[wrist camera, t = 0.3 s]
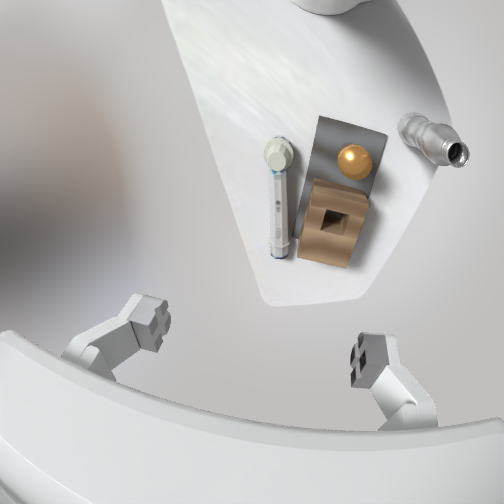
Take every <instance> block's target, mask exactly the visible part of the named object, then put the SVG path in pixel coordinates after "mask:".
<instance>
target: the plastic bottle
mask: <svg viewBox="0 0 504 504" xmlns="http://www.w3.org/2000/svg"><path fill="white" fill-rule="evenodd" d="M398 132H399V134H400V136H401V138H402V140H403V141H404V142H405V143H406V144H408V145H410V146H412V147H416V148H419V149H420V150H421V151H422V152H423V153H424V155H425V156H426V157H427V158H428V159H429V160H430V161H431V162H432V163H434V164H436V165H440V166H448V165H452V166H454V167H457V168H460V167H463V166H465V165H466V164H467V162H468V160H469V150H468V147H467V146H466V145H465V144H464V143H463V142H461V140H460V138H459V136H458V134H457V133H456V131H455V130H454V129H453V128H452V127H450V126H448V125H446V124H442V123H433V122H430V121H429V120H428V119H427V118H425V117H424V116H423V115H421V114H418V113H409V114H406V115H404V116H403V117H402V118H401V119H400V121H399V123H398Z"/></svg>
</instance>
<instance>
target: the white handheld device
mask: <svg viewBox="0 0 504 504" xmlns="http://www.w3.org/2000/svg"><path fill="white" fill-rule="evenodd" d="M264 159H265V161H266V163H267V164H268V166H269V167H270V239H269V244H270V245H271V256H273V257H274V258H275V259H284V258H286V257H287V256H288V250H289V245H290V238H289V233H288V201H287V176H286V169H287V168H289V167H290V165H291V163H292V161H293V149H292V147H291V145H290V143H289V141H288V140H287V139H285V138H284V137H275V138H274V139H272V140H271V141H269V142H268V143H267V145H266V147H265V149H264Z"/></svg>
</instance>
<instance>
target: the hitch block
mask: <svg viewBox="0 0 504 504" xmlns="http://www.w3.org/2000/svg"><path fill="white" fill-rule="evenodd" d="M386 137H387V135H386V134H383V133H379V132H376V131H373V130H370V129H367V128H363V127H360V126H357V125H353V124H349V123H346V122H342V121H338V120H334V119H330V118H326V117H322V116H319V119H318V124H317V129H316V134H315V139H314V143H313V148H312V152H311V157H310V161H309V166H308V170H307V175H306V179H305V184H304V188H303V192H302V196H301V201H300V205H299V209H298V213H297V217H296V222H295V226H294V230H293V234H292V237H293V238H297V239H299V240H298V251H297V258H302V259H306V260H311V261H315V262H320V263H324V264H329V265H333V266H337V267H342V268H346V267H347V264H348V262H349V259H350V257H351V254H352V251H353V249H354V246H355V244H356V241H357V238H358V236H359V233H360V230H361V227H362V225H363V222H364V219H365V216H366V213H367V211H368V208H369V203H368V197H369V194H370V191H371V188H372V185H373V181H374V178H375V175H376V172H377V168H378V165H379V162H380V158H381V155H382V151H383V148H384V144H385V140H386ZM347 142H349V143H355V144H359V145H361V146H362V147H363V148H364V149H365V150H366V151H367V152H368V153H369V155H370V157H371V159H372V169H371V171H370V173H369V174H368V175H367V176H366V177H365V178H363V179H361V180H351V179H348V178H346V177H345V176H344V175H343V174H342V173H341V171H340V169H339V166H338V163H337V154H338V152H339V150H340V147H341V146H342V144H344V143H347Z"/></svg>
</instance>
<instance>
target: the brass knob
mask: <svg viewBox="0 0 504 504" xmlns="http://www.w3.org/2000/svg"><path fill="white" fill-rule="evenodd" d="M337 163H338V166H339V169H340V171H341V173H342V174H343V175H344V176H345V177H346V178H348V179H351V180H361V179H363V178H365V177H366V176H367V175H368V174H369V173H370V171H371V169H372V159H371V157H370V155H369V153H368V152H367V151H366V150H365V149H364V148H363V147H362V146H361V145H359V144H355V143H349V142H347V143H344V144H342V146H341V147H340V150H339V152H338V154H337Z"/></svg>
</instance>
